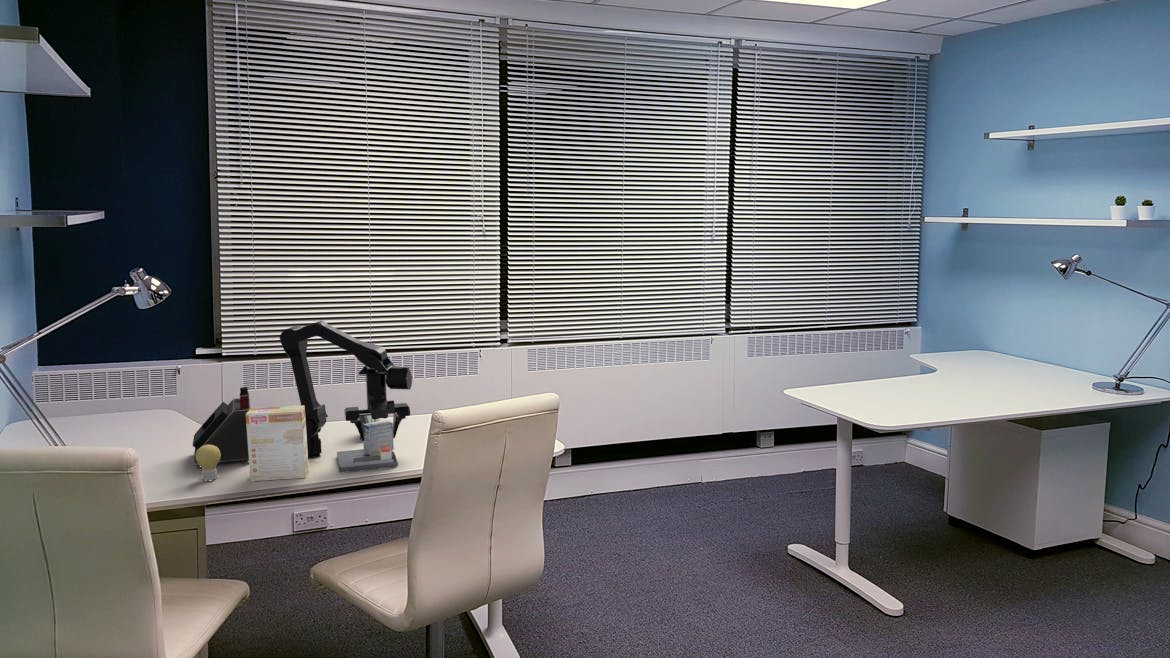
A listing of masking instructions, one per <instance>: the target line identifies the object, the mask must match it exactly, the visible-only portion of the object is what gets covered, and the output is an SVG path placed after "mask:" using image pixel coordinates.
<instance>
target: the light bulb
mask: <svg viewBox="0 0 1170 658" xmlns="http://www.w3.org/2000/svg"><path fill="white" fill-rule="evenodd" d="M220 457H221V453H220V450H219V448H218V447H216V446H214V445H204V446H202V447H200V448H199V449H198V450H197V452H196V461H197V463H198V464H197V465H198V466H199V465H200V466H201V467H200V468H202V469H201V473H202V480H203V481H205V480H212V481H215V480H216V479H218V472H217V468H216V467H217V466H218V464H219V463H220V462H219V460H220ZM214 479H215V480H214Z"/></svg>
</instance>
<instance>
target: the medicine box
mask: <svg viewBox="0 0 1170 658" xmlns="http://www.w3.org/2000/svg"><path fill="white" fill-rule="evenodd" d="M362 443H363V449H364V452H365V453H367V454H369V455H372V454H377V453H380V449H381V447H384V446H389V447H390V449H391V450H392V451H394V449H395V447H394V446H395V445H394V439H393V422H391V421H389V420H386V419H383V420H380V421H377V422H372V423H367V424H363V441H362Z"/></svg>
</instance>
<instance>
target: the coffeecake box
mask: <svg viewBox="0 0 1170 658" xmlns="http://www.w3.org/2000/svg"><path fill="white" fill-rule="evenodd" d="M246 426H247V440H248V454H249V462H248V464H249V465H248V466H249V477H250V482H258V481H259V482H260V481H275V480H276V481H277V480H280V481H281V480H293V479H294V480H295V479H296V480H297V479H306V478H307V475H308V474H309V472H310V471H309V458H308V451H307V435H306V418H305V405H303V406H301V405H287V406H269V407H267V406H264V407H251V408H250V409H249V411H248V412H247V413H246Z"/></svg>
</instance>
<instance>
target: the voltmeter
mask: <svg viewBox="0 0 1170 658" xmlns="http://www.w3.org/2000/svg"><path fill="white" fill-rule="evenodd" d="M239 389H240V390H239V398H238V397H237V398H232V400H231V401H230V402H229V403H226V402H225V401H222V402H221V403H220V404H219V405H218V407H217V408H216V409H215V410H214V411H213V412H212V413H211V415H209V417H208V418H207V419H206V420H205V422H203V424H201V426H200V427H199V428H198V430H197V431H196V432H195V433H194V434H193V440H192V447H193V448H194V452H193V462H194V465H198V467H199V466H200V465H199V464H198V463H197V461H196V452H197V450H198V449H199V448H200V447H202V446H204V445H214V446H216V447H218V448H219V450H220V453H221V457H220V460H219V462H218V463H222V462H234V461H241V462H242V461H243V462H247V461H249V454H248V440H247V426H246V413H247V412H248V411H249V409H250V408H252V407H251V397H250V393H249V391H248V390H249V389H248V387H247V386H241V387H240V388H239ZM243 462H242V463H243ZM247 463H248V462H247Z"/></svg>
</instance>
